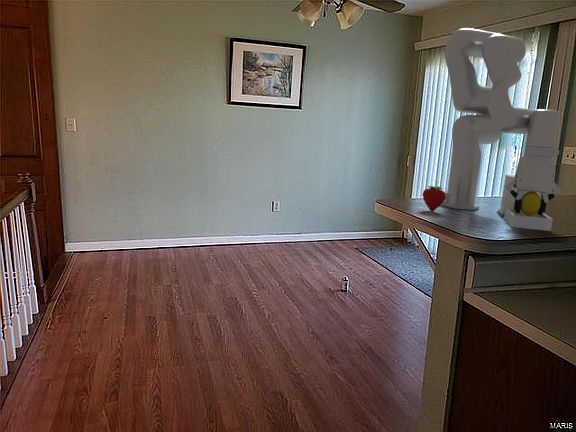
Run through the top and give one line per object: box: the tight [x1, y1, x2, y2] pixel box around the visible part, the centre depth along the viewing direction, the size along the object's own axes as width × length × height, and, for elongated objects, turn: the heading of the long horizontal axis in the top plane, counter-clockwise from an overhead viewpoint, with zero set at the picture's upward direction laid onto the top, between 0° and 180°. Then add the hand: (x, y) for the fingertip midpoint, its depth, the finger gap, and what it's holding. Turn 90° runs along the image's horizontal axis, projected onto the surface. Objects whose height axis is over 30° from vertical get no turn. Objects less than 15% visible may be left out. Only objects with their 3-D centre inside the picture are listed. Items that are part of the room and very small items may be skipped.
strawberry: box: [422, 180, 446, 212], centre depth 151 cm, size 6×8×10 cm
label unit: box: [497, 174, 541, 219], centre depth 149 cm, size 11×7×13 cm, turn 76°
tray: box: [503, 209, 554, 232], centre depth 139 cm, size 11×11×4 cm
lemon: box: [521, 192, 541, 216], centre depth 137 cm, size 6×6×8 cm
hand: (528, 213), depth 138 cm, fingers closed on lemon, 5 cm apart
